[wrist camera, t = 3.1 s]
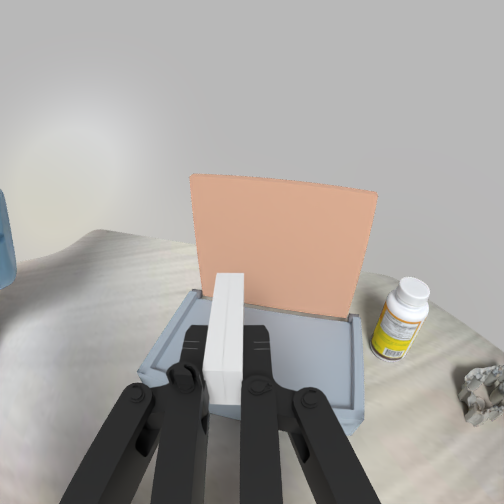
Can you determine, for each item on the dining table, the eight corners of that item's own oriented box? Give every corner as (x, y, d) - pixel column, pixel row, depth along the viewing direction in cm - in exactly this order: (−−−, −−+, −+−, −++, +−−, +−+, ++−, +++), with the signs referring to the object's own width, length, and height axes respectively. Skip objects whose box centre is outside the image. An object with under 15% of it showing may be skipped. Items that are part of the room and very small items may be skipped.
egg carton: (464, 432, 19) (483, 414, 17) (452, 384, 25) (467, 364, 23) (515, 416, 17) (533, 398, 15) (501, 376, 23) (516, 357, 21)
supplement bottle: (390, 328, 35) (414, 268, 30) (413, 354, 30) (445, 294, 25) (360, 341, 33) (383, 278, 28) (384, 370, 29) (416, 308, 23)
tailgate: (203, 295, 36) (189, 176, 27) (206, 288, 37) (195, 172, 28) (346, 317, 32) (377, 195, 24) (346, 310, 33) (375, 190, 25)
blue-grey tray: (147, 392, 26) (136, 371, 24) (195, 308, 39) (192, 286, 36) (351, 435, 22) (364, 419, 20) (352, 334, 34) (360, 312, 32)
